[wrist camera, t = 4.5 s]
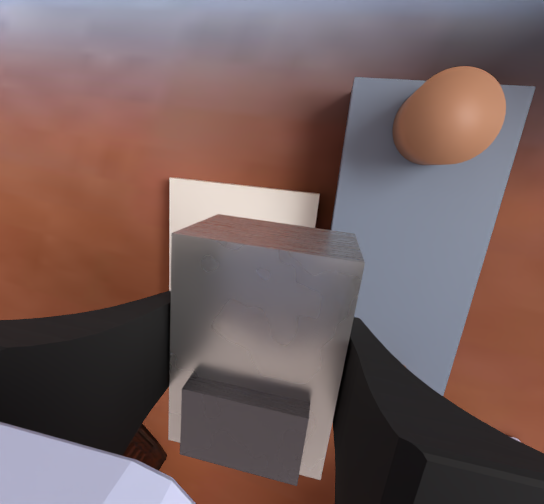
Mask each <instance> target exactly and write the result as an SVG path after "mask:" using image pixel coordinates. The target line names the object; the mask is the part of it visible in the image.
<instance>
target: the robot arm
mask: <svg viewBox="0 0 544 504" xmlns="http://www.w3.org/2000/svg"><path fill="white" fill-rule="evenodd" d="M170 309H171V291H167V292H164V293H161V294H157V295H154V296H151V297H147V298H144V299H140V300H137V301H133V302H129V303H125V304H121V305H118V306H114V307H109V308H105V309H100V310H95V311H89V312H84V313H77V314H70V315H62V316H53V317H45V318H34V319H20V320H0V504H196V503H195V502H194V501H193V500H192V499H191V498H190V497H189V495H188V494H187V493H186V492H185V491H184V490H183V489H182V488H181V487H180V485H179V484H178V483H177V482H176V481H175V480H174V479H173V478H172V477H170V476H168V475H166V474H164V473H162V472H160V471H158V470H156V469H154V468H152V467H150V466H148V465H146V464H144V463H142V462H140V461H138V460H136V459H132V458H128V457H125V456H123V454H124V452H125V451H126V449H127V447H128V446H129V444H130V442H131V441H132V439H133V437H134V436H135V434H136V432H137V431H138V429H139V427H140V426H141V424H142V423H143V421H144V419H145V418H146V416H147V415H148V414H149V412H150V411H151V409H152V408H153V407H154V405H155V404H156V403H157V401H158V400H159V399H160V397H161V396H162V395H163V393H164V392H165V391H166V389H167V388H168V387H169V372H170ZM333 431H334V445H335V464H336V475H335V504H544V454H543V453H541V452H539V451H537V450H535V449H533V448H531V447H529V446H527V445H525V444H523V443H521V442H520V440H519V439H517V438H514V437H509V436H507V435H505V434H504V433H502V432H500V431H498V430H497V429H495V428H493V427H491V426H489V425H488V424H486V423H484V422H482V421H481V420H479V419H477V418H476V417H474V416H472V415H471V414H469V413H467V412H466V411H464V410H463V409H461V408H459V407H458V406H456V405H455V404H454V403H452V402H451V401H449V400H448V399H446V398H445V397H443V396H442V395H440V394H439V393H437V392H436V391H435V390H433V389H432V388H431V387H429V386H428V385H427V384H425V383H424V382H423V381H422V380H420V379H419V378H418V377H417V376H415V375H414V374H413V373H412V372H411V371H409V370H408V369H407V368H406V367H405V366H404V365H403V364H402V363H401V362H400V361H399V360H398V359H396V358H395V357H394V356H393V355H392V354H391V353H390V352H389V351H388V350H387V349H386V347H385V346H384V345H383V344H382V343H381V342H380V341H379V340H378V339H377V338H376V336H375V335H374V334H373V333H372V332H371V331H370V330H369V328H368V327H367V326H366V325H365V324H364V322H363V321H362V320H361V319H360V318H357V317H354V319H353V324H352V329H351V334H350V338H349V343H348V348H347V353H346V358H345V363H344V368H343V373H342V378H341V383H340V387H339V392H338V397H337V402H336V407H335V412H334V417H333Z"/></svg>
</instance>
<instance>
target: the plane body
mask: <svg viewBox="0 0 544 504" xmlns="http://www.w3.org/2000/svg"><path fill="white" fill-rule="evenodd" d="M535 88H536V86H517V85H500V84H499V83H498V82H497V80H496V79H495V78H494V77H493V76H492V75H491V74H489V73H487V72H486V71H484V70H481V69H479V68H475V67H469V66H459V67H453V68H449V69H446V70H444V71H441V72H439V73H437V74H436V75H434V76H432V77H431V78H430V79H428V80H427V81H421V80H401V79H382V78H363V77H355V78H354V83H353V87H352V91H351V97H350V104H349V111H348V117H347V124H346V131H345V137H344V144H343V151H342V157H341V164H340V170H339V177H338V184H337V190H336V197H335V204H334V210H333V217H332V224H331V230H333V231H340V232H347V233H354V234H355V235H356V238H357V241H358V244H359V247H360V250H361V253H362V256H363V259H364V262H365V265H364V270H363V275H362V280H361V285H360V289H359V294H358V299H357V304H356V309H355V314H354V317H357V318H360V319H361V320H362V321H363V322H364V324H365V325H366V326H367V327H368V328H369V330H370V331H371V332H372V333H373V334H374V335H375V336H376V338H377V339H378V340H379V341H380V342H381V343H382V344H383V345H384V346H385V347H386V349H387V350H388V351H389V352H390V353H391V354H392V355H393V356H394V357H395V358H396V359H398V360H399V361H400V362H401V363H402V364H403V365H404V366H405V367H406V368H407V369H408V370H409V371H411V372H412V373H413V374H414V375H415V376H417V377H418V378H419V379H420V380H422V381H423V382H424V383H425V384H427V385H428V386H429V387H431V388H432V389H433V390H435V391H436V392H437V393H439V394H440V395H442V396H443V395H444V391H445V388H446V385H447V381H448V378H449V375H450V371H451V368H452V365H453V361H454V358H455V355H456V351H457V348H458V345H459V341H460V338H461V335H462V331H463V328H464V325H465V321H466V318H467V315H468V311H469V308H470V305H471V301H472V298H473V295H474V291H475V288H476V285H477V281H478V278H479V275H480V271H481V268H482V265H483V261H484V258H485V255H486V251H487V248H488V245H489V241H490V238H491V235H492V231H493V228H494V225H495V221H496V218H497V215H498V211H499V208H500V205H501V201H502V198H503V195H504V191H505V188H506V185H507V181H508V178H509V174H510V171H511V168H512V164H513V161H514V158H515V154H516V151H517V148H518V144H519V141H520V138H521V134H522V131H523V128H524V124H525V121H526V118H527V114H528V111H529V108H530V104H531V101H532V98H533V94H534V91H535Z"/></svg>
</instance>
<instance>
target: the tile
mask: <svg viewBox="0 0 544 504" xmlns="http://www.w3.org/2000/svg"><path fill="white" fill-rule="evenodd" d="M319 198H320V193H311V192H302V191H293V190H284V189H275V188H266V187H257V186H248V185H239V184H230V183H221V182H212V181H203V180H194V179H185V178H176V177H174V178H170V215H169V291H171V247H172V233H173V232H175V231H178V230H180V229H183V228H185V227H188V226H190V225H192V224H195V223H197V222H200V221H202V220H205V219H207V218H210V217H212V216H215V215H217V214H222V215H229V216H236V217H243V218H250V219H257V220H263V221H270V222H277V223H284V224H291V225H298V226H305V227H312V228H315V227H316V220H317V212H318V205H319Z"/></svg>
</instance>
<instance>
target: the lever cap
mask: <svg viewBox="0 0 544 504" xmlns="http://www.w3.org/2000/svg"><path fill="white" fill-rule="evenodd" d="M364 265H365V262H364V259H363V256H362V253H361V250H360V247H359V244H358V241H357V238H356V235H355V234H354V233H347V232H340V231H333V230H326V229H319V228H312V227H305V226H298V225H291V224H284V223H277V222H270V221H263V220H257V219H250V218H243V217H236V216H229V215H222V214H217V215H215V216H212V217H210V218H207V219H205V220H202V221H200V222H197V223H195V224H192V225H190V226H188V227H185V228H183V229H180V230H178V231H175V232H173V233H172V247H171V309H170V372H169V435H168V440H172V441H175V442H179V443H180V454H181V455H185V456H189V457H192V458H196V459H200V460H203V461H207V462H211V463H214V464H218V465H222V466H225V467H229V468H233V469H236V470H240V471H244V472H247V473H251V474H255V475H258V476H262V477H266V478H269V479H273V480H277V481H280V482H284V483H288V484H292V485H295V486H297V483H298V477H299V475H303V476H307V477H311V478H314V479H318V480H321V476H322V471H323V466H324V461H325V456H326V451H327V446H328V441H329V436H330V431H331V427H332V422H333V417H334V412H335V407H336V402H337V397H338V392H339V387H340V383H341V378H342V373H343V368H344V363H345V358H346V353H347V348H348V343H349V338H350V334H351V329H352V324H353V319H354V314H355V309H356V304H357V299H358V294H359V289H360V285H361V280H362V275H363V270H364Z"/></svg>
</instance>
